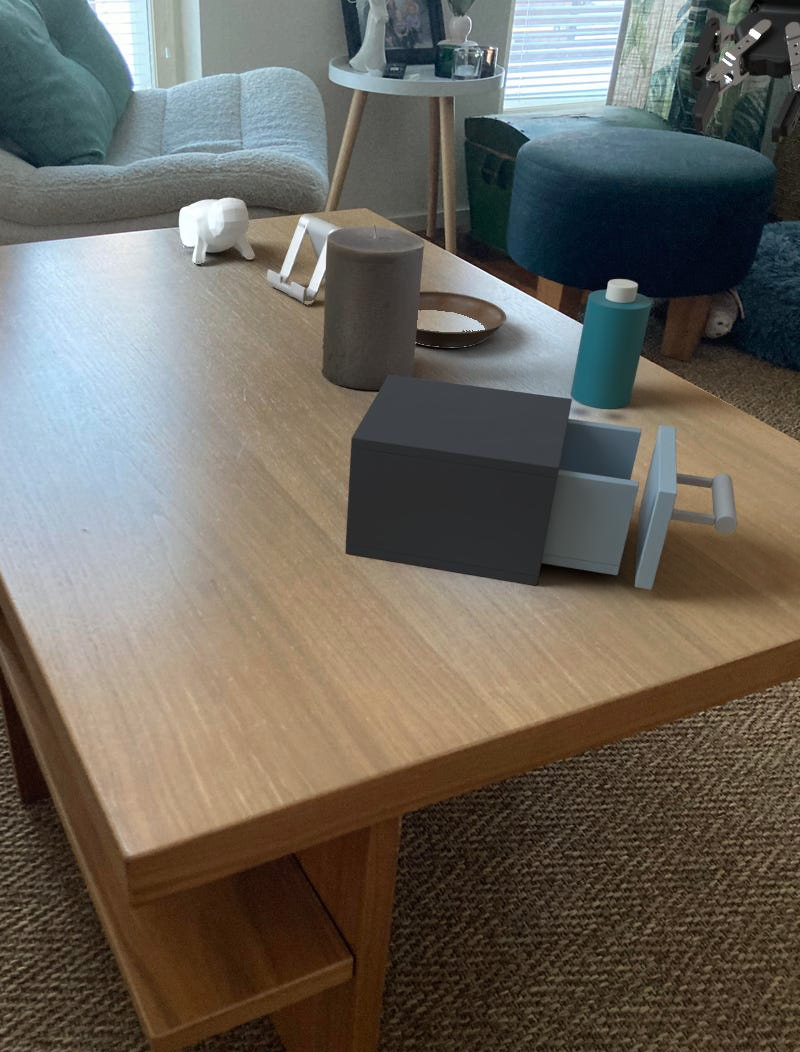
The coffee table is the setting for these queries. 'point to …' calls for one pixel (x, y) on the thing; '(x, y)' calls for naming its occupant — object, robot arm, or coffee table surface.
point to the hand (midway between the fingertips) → (736, 130)
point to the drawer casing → (455, 477)
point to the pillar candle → (370, 305)
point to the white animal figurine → (215, 227)
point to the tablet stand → (318, 238)
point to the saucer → (465, 306)
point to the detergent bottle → (610, 345)
